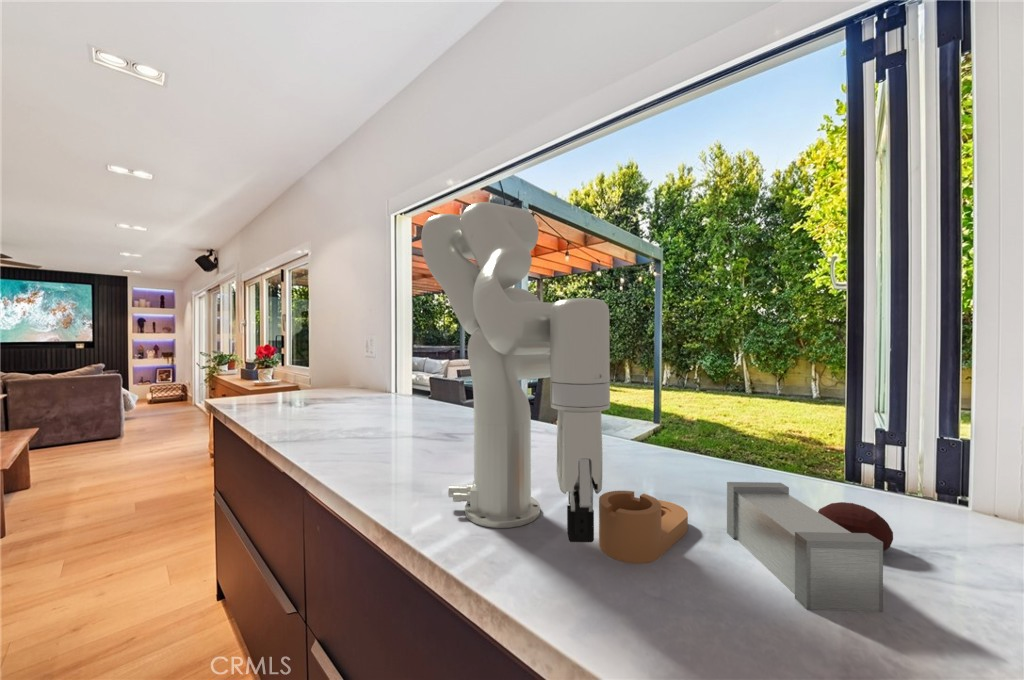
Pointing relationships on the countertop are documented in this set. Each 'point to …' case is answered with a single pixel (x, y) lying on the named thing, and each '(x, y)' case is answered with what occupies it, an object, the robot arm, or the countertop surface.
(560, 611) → the countertop surface
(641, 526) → the bracket
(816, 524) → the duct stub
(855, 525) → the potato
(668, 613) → the countertop surface
